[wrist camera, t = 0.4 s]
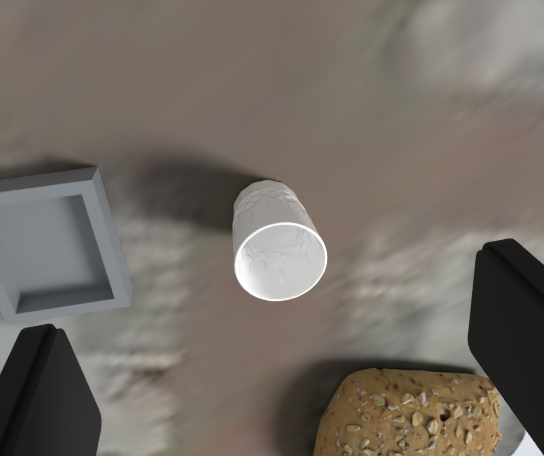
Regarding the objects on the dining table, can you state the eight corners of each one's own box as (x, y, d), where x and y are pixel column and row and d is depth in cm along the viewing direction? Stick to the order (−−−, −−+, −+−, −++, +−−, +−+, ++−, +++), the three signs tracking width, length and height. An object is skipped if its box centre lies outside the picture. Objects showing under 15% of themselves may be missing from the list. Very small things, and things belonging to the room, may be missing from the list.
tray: (-38, 184, 44) (-53, 199, 41) (97, 166, 45) (91, 179, 42) (17, 305, 51) (7, 325, 48) (133, 288, 52) (129, 306, 49)
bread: (295, 463, 71) (313, 550, 60) (331, 353, 61) (359, 434, 51) (445, 462, 76) (485, 543, 66) (501, 360, 66) (558, 436, 56)
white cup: (235, 249, 51) (244, 309, 43) (219, 183, 47) (225, 234, 39) (308, 234, 52) (331, 290, 43) (298, 166, 48) (321, 213, 39)
